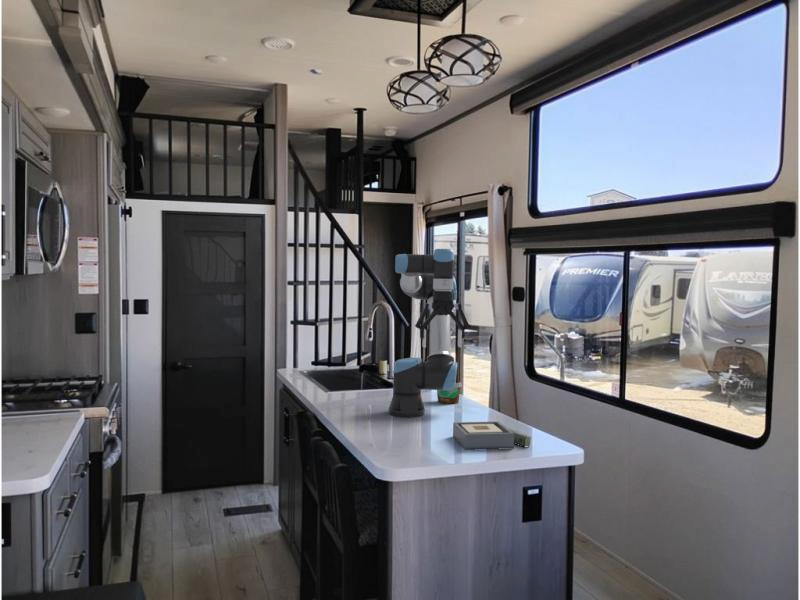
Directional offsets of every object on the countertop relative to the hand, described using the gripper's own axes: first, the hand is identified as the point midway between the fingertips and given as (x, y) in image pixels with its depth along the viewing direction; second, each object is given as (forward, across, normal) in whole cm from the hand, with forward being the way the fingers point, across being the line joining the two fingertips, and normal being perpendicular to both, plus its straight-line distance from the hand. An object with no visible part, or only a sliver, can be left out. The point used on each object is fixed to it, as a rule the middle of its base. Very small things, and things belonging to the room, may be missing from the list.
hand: (442, 347), depth 238 cm
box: (+32, +11, -18) cm, 38 cm away
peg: (+30, -8, +52) cm, 60 cm away
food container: (+32, +14, +47) cm, 59 cm away
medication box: (+32, +23, -19) cm, 44 cm away
